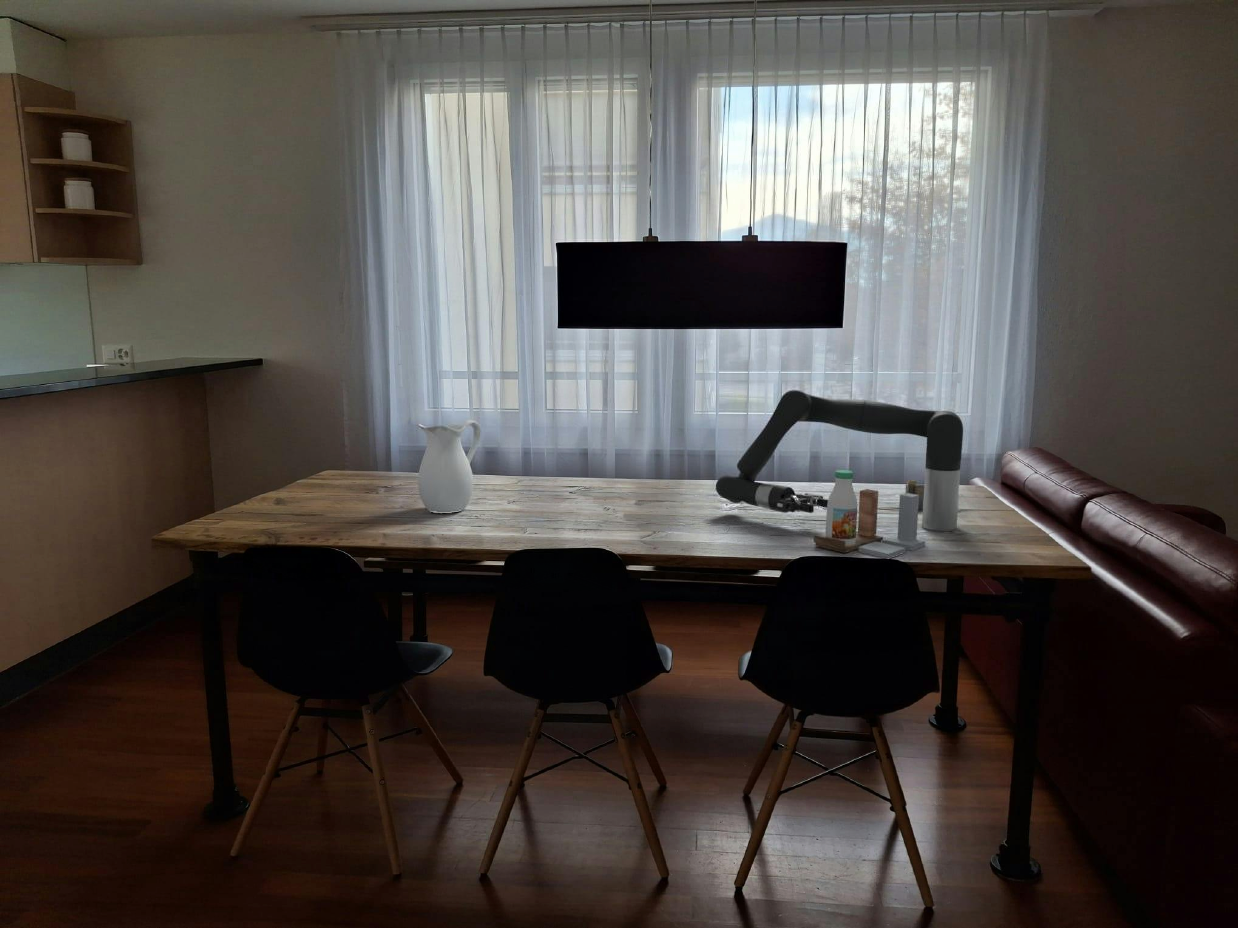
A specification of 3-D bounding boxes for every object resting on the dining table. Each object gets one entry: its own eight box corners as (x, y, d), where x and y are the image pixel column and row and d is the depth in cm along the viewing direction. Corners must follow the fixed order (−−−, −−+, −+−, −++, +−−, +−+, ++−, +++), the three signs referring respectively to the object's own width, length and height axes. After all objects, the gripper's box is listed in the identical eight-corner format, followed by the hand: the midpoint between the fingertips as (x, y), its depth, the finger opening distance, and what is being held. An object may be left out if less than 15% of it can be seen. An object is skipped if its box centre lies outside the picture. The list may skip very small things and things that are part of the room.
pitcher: (444, 519, 252) (440, 427, 248) (407, 511, 262) (403, 423, 258) (500, 505, 271) (498, 419, 266) (465, 498, 281) (462, 415, 276)
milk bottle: (820, 546, 220) (824, 471, 216) (831, 540, 226) (836, 467, 222) (848, 551, 215) (853, 475, 212) (859, 545, 221) (864, 470, 218)
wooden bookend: (856, 533, 233) (858, 487, 231) (885, 539, 227) (887, 492, 224) (813, 546, 220) (815, 497, 218) (843, 553, 214) (845, 503, 211)
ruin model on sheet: (907, 509, 265) (908, 479, 263) (904, 507, 268) (906, 477, 266) (943, 510, 264) (945, 479, 263) (940, 508, 267) (942, 478, 266)
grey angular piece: (895, 539, 228) (898, 491, 226) (924, 545, 222) (928, 496, 219) (858, 551, 216) (860, 501, 214) (888, 558, 210) (891, 506, 208)
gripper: (759, 488, 238) (807, 497, 226) (790, 481, 248) (837, 489, 236) (759, 514, 240) (806, 524, 228) (789, 506, 249) (836, 515, 237)
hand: (822, 506), depth 232 cm, fingers open, 8 cm apart
